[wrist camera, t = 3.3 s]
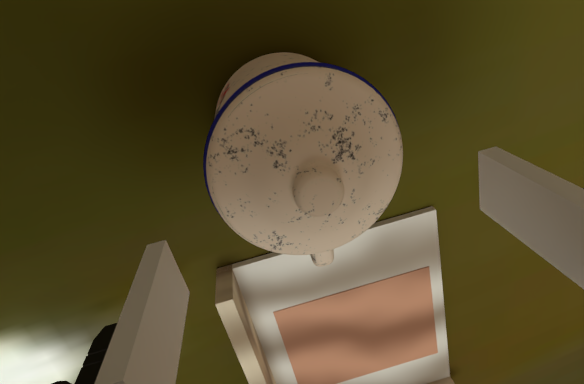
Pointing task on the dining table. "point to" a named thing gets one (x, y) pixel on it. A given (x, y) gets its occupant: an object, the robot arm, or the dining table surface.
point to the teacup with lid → (301, 155)
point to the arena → (343, 310)
